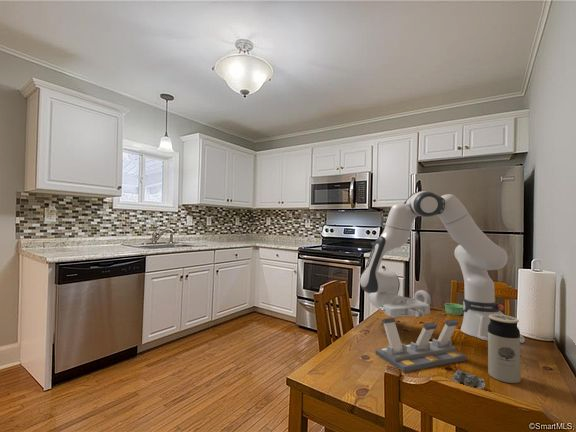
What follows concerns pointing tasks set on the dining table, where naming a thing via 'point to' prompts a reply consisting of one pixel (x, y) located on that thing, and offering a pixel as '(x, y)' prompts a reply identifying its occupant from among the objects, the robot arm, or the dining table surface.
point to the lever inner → (447, 331)
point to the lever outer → (392, 334)
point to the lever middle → (425, 334)
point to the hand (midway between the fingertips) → (420, 314)
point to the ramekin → (453, 308)
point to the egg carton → (468, 379)
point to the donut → (424, 294)
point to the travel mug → (504, 348)
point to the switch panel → (421, 355)
